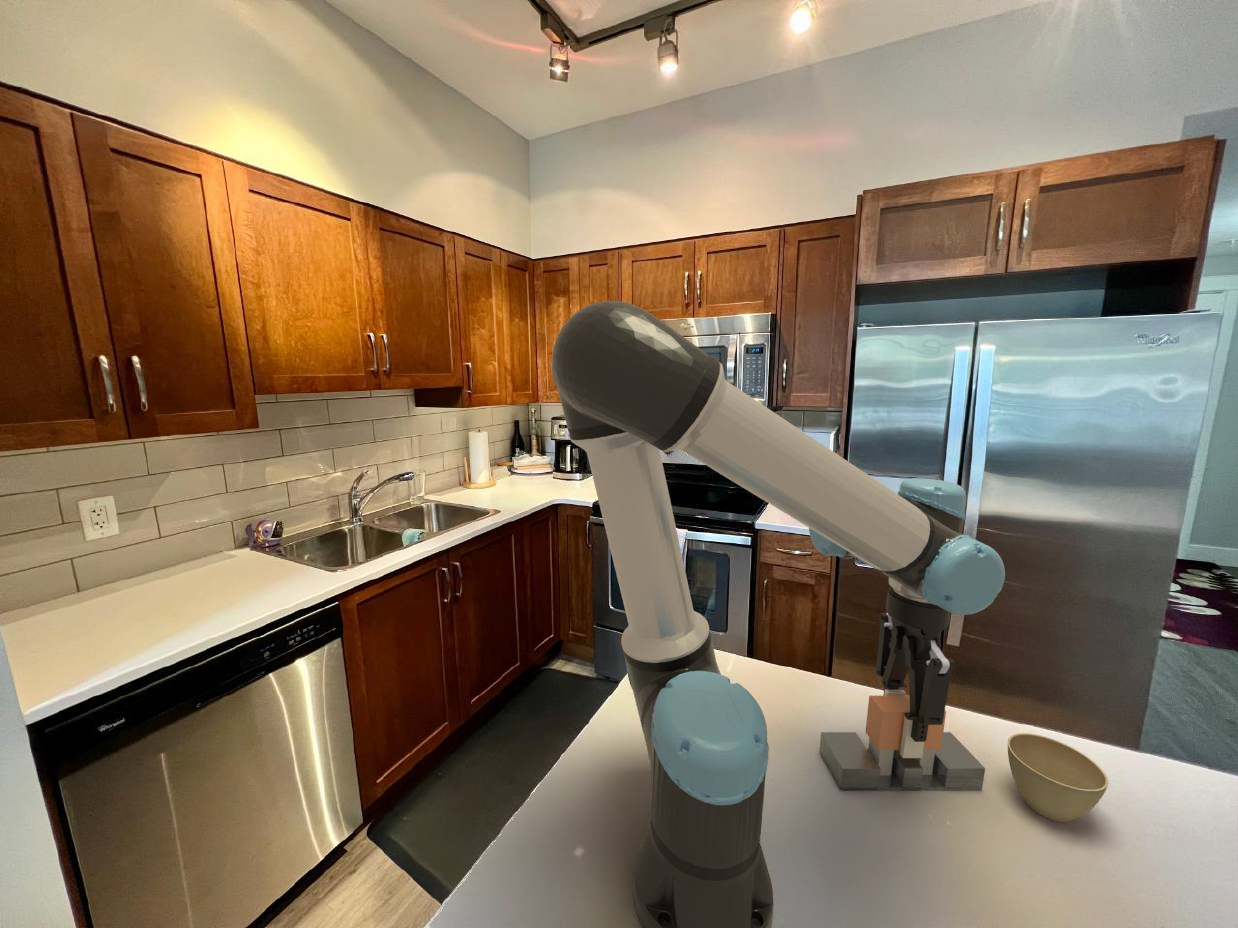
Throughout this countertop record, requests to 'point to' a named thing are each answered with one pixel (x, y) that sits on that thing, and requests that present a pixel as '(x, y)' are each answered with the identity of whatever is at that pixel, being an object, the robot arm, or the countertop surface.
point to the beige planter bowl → (1055, 777)
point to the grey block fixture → (899, 766)
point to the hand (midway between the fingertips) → (900, 742)
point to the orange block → (896, 732)
